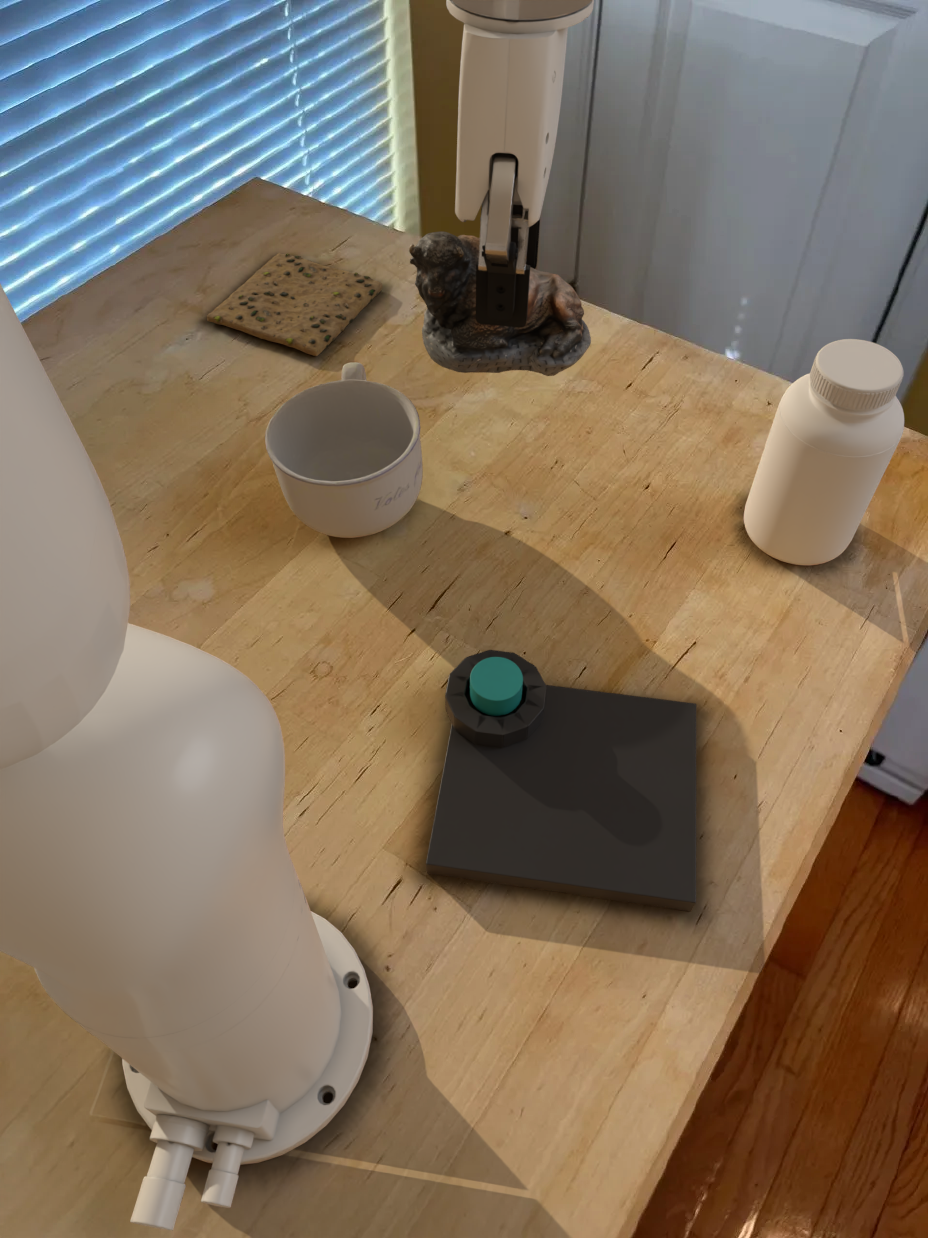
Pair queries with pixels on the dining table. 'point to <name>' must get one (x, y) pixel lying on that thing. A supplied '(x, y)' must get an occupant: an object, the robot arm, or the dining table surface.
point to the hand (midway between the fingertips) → (507, 291)
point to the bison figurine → (481, 348)
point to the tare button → (496, 686)
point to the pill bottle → (826, 453)
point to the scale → (569, 792)
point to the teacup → (347, 455)
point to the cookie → (296, 303)
